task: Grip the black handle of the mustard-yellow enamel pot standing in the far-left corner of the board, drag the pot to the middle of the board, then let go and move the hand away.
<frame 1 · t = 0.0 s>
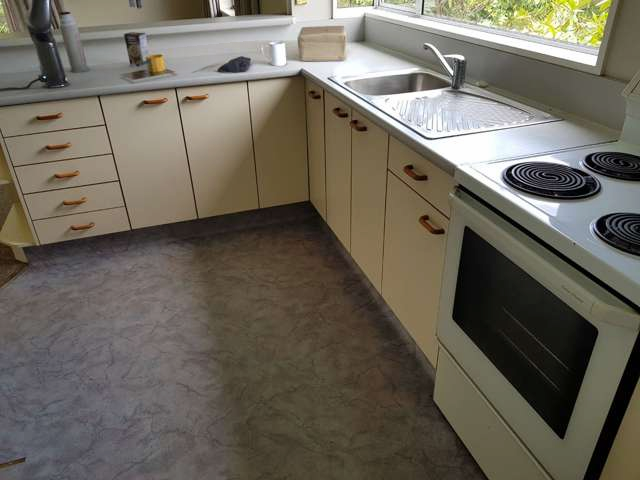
hand: (136, 7, 247), 29 cm above the worktop, tool pointing down, fingers open, 8 cm apart
coffee box: (140, 65, 271), on the worktop
dark slate chunk: (236, 67, 262), on the worktop
pot: (156, 69, 255), point 1 cm above the worktop, touching board
thermos bottle: (80, 70, 264), on the worktop
paper package: (322, 56, 279), on the worktop
board: (148, 76, 250), on the worktop
mug: (274, 64, 266), on the worktop
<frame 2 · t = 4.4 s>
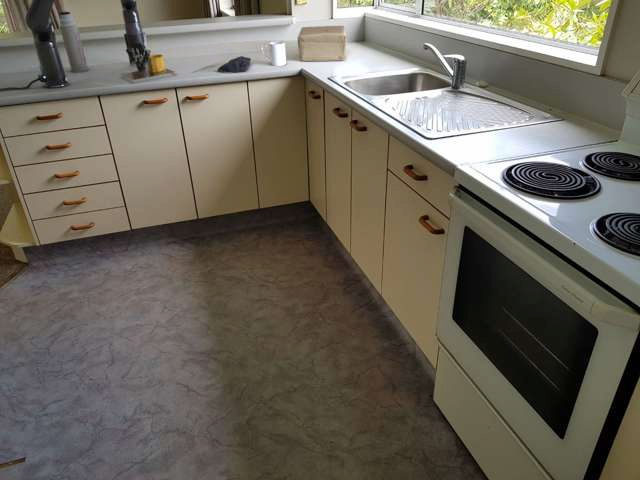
hand: (142, 70, 246), 4 cm above the worktop, tool pointing down, fingers closed on pot
pot: (156, 69, 255), point 1 cm above the worktop, touching board, gripper
everything else where it was.
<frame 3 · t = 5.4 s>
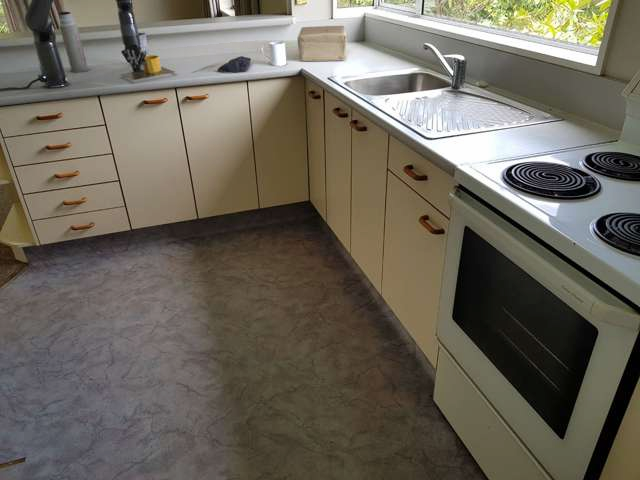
hand: (137, 72, 243), 3 cm above the worktop, tool pointing down, fingers closed on pot
pot: (152, 70, 253), point 2 cm above the worktop, touching gripper
everything else where it was.
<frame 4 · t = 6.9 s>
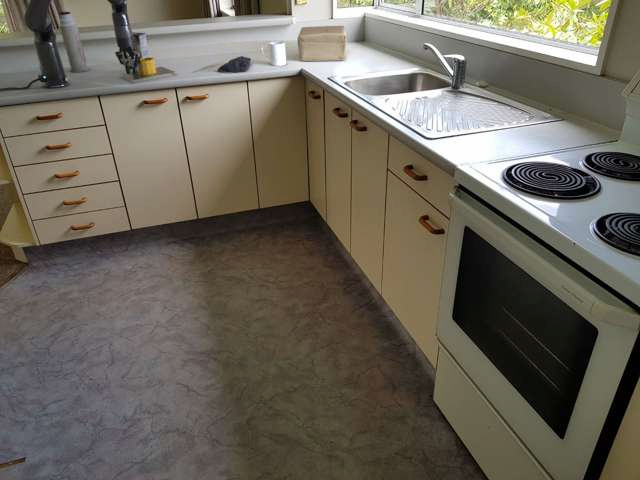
hand: (132, 74, 240), 3 cm above the worktop, tool pointing down, fingers open, 3 cm apart
pot: (147, 72, 250), point 1 cm above the worktop, touching board
everything else where it was.
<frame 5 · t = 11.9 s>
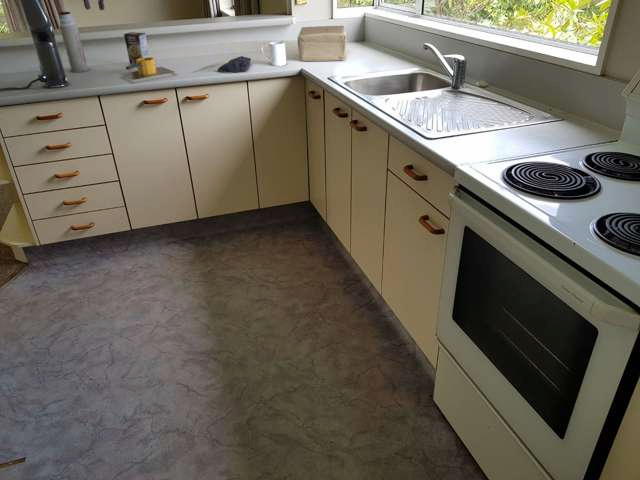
hand: (95, 9, 238), 30 cm above the worktop, tool pointing down, fingers open, 8 cm apart
nothing on the worktop moved.
at the end: pot 0.3 cm off-centre on the board, point 1.5 cm above the board's base; pot tilted 0°; the gripper is holding nothing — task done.
